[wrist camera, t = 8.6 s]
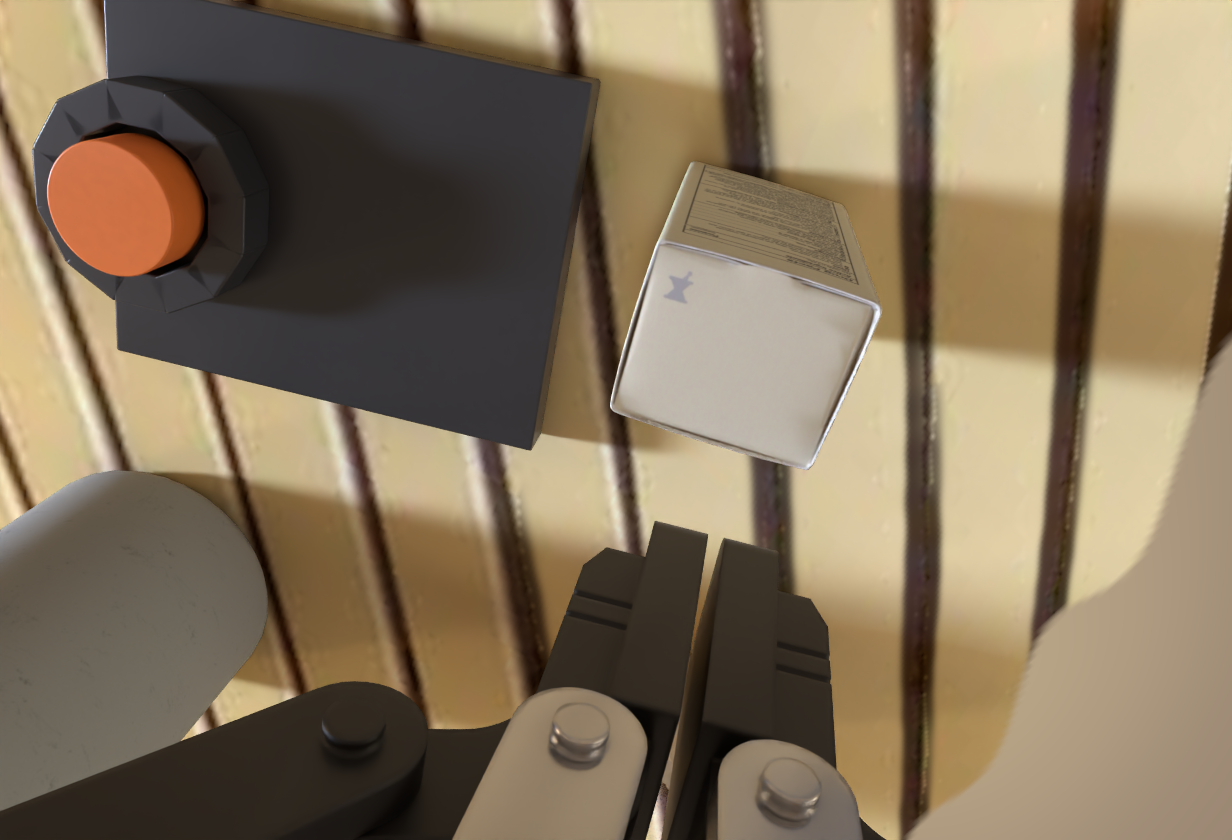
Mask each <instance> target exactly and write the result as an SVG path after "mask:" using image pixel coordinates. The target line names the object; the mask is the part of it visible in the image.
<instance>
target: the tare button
mask: <svg viewBox="0 0 1232 840" xmlns="http://www.w3.org/2000/svg"><path fill="white" fill-rule="evenodd" d="M47 198H48V205H49V209H50V213H51V216H52V219H53V222H54V224H55V226H56V228H57V230H58V232H59V234H60V235H61V237H62V238H63V240H64V241H65V242H66V244H67V245H68V246H69V247H70V249H71V250H72V251H73V252H74V253H75V254H76V255H77V256H78V257H80V258H81V259H82V260H83V261H85V262H86V263H87V264H89V265H91V266H92V267H94V268H96V269H98V270H100V271H102V272H105V273H108V274H111V275H116V276H123V277H132V276H139V275H142V274H145V273H148V272H150V271H152V270H155V269H157V268H160V267H162V266H164V265H167V264H169V263H171V262H174V261H176V260H178V259H180V258H182V257H184V256H185V255H187V254H188V253H189V252H190V251H191V250H192V249H193V248H194V247H195V245H196V244H197V242H198V240H199V239H200V237H201V234H202V231H203V228H204V223H205V204H204V198H203V194H202V191H201V188H200V185H199V183H198V181H197V179H196V177H195V175H194V173H193V171H192V170H191V169H190V167H189V166H188V164H187V163H186V162H185V161H184V160H183V158H182V157H181V156H180V155H179V154H177V153H176V152H175V151H174V150H173V149H172V148H170V147H169V146H168V145H166V144H164V143H163V142H161V141H159V140H157V139H155V138H152V137H150V136H146V135H143V134H137V133H123V134H117V135H112V136H107V137H102V138H97V139H92V140H87V141H82V142H79V143H76V144H74V145H72V146H70V147H69V148H67V149H66V150H65V151H63V152H62V154H61V155H60V156H59V157H58V158H57V160H56V161H55V163H54V164H53V167H52V169H51V171H50V175H49V178H48V185H47Z"/></svg>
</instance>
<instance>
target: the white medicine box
mask: <svg viewBox="0 0 1232 840" xmlns="http://www.w3.org/2000/svg"><path fill="white" fill-rule="evenodd" d="M881 315H882V307H881V304H880V301H879V299H878V296H877V293H876V290H875V288H874V285H873V282H872V279H871V276H870V274H869V272H868V269H867V265H866V263H865V260H864V257H863V255H862V252H861V249H860V247H859V244H858V242H857V239H856V236H855V233H854V230H853V227H852V225H851V222H850V220H849V217H848V214H847V211H846V209H845V207H844V206H843V205H841V204H839V203H836V202H833V201H830V200H827V199H824V198H820V197H817V196H814V195H811V194H809V193H805V192H802V191H799V190H796V189H793V188H789V187H786V186H783V185H780V184H776V183H773V182H770V181H766V180H763V179H760V178H756V177H753V176H749V175H746V174H742V173H738V172H735V171H731V170H728V169H724V168H720V167H716V166H712V165H709V164H705V163H701V162H697V161H694V162H692V163H690V165H689V168H688V170H687V172H686V174H685V177H684V179H683V182H682V184H681V186H680V189H679V191H678V193H677V196H676V199H675V201H674V204H673V206H672V209H671V211H670V214H669V216H668V218H667V221H666V223H665V226H664V228H663V231H662V233H661V235H660V238H659V240H658V242H657V244H656V246H655V249H654V252H653V255H652V258H651V261H650V264H649V267H648V270H647V273H646V276H645V279H644V282H643V285H642V288H641V291H640V294H639V297H638V301H637V304H636V307H635V310H634V313H633V317H632V320H631V323H630V327H629V330H628V334H627V337H626V340H625V344H624V348H623V351H622V355H621V359H620V363H619V367H618V371H617V375H616V379H615V384H614V388H613V392H612V396H611V402H610V407H611V409H612V410H613V411H614V412H616V413H618V414H621V415H623V416H626V417H629V418H632V419H634V420H638V421H641V422H644V423H647V424H650V425H652V426H655V427H658V428H662V429H664V430H667V431H670V432H673V433H676V434H680V435H683V436H686V437H688V438H692V439H695V440H699V441H702V442H705V443H708V444H712V445H715V446H719V447H722V448H726V449H729V450H732V451H735V452H738V453H742V454H746V455H750V456H753V457H757V458H760V459H764V460H768V461H772V462H776V463H780V464H784V465H787V466H793V467H796V468H800V469H804V470H809V469H810V468H811V467H812V466H813V464H814V462H815V460H816V458H817V456H818V453H819V451H820V449H821V447H822V445H823V443H824V441H825V439H826V436H827V434H828V432H829V430H830V429H831V427H832V425H833V422H834V420H835V418H836V416H837V414H838V411H839V409H840V407H841V405H842V403H843V401H844V399H845V397H846V395H847V393H848V391H849V388H850V386H851V384H852V381H853V379H854V377H855V375H856V373H857V371H858V369H859V366H860V363H861V361H862V359H863V357H864V355H865V353H866V350H867V348H868V346H869V343H870V341H871V338H872V336H873V334H874V331H875V329H876V326H877V324H878V322H879V319H880V317H881Z"/></svg>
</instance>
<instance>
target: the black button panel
mask: <svg viewBox="0 0 1232 840" xmlns="http://www.w3.org/2000/svg"><path fill="white" fill-rule="evenodd" d="M104 14H105V40H106V67H107V79H103V80H101V81H99V82H96V83H94V84H92V85H89V86H87V87H85V88H83V89H80V90H78V91H76V92H73V93H71V94H69V95H66V96H64V97H62V98H59V99H58V100H57V102H56V103H55V105H54V107H53V109H52V110H51V112H50V114H49V116H48V118H47V120H46V122H45V124H44V126H43V128H42V130H41V131H40V133H39V135H38V137H37V139H36V141H35V143H34V145H33V149H32V155H33V169H34V183H35V197H36V205H37V206H38V207H37V210H38V212H39V214H40V215H41V217H42V219H43V221H44V223H45V225H46V226H47V228H48V230H49V232H50V234H51V236H52V237H53V239H54V241H55V243H56V245H57V247H58V248H59V250H60V252H61V254H62V256H63V257H64V259H65V261H66V262H67V263H68V264H69V265H70V266H72V267H73V268H74V269H75V270H76V271H78V272H79V273H80V274H81V275H83V276H84V277H85V278H86V279H88V280H89V281H90V282H91V283H93V284H94V285H95V286H96V287H98V288H99V289H100V290H101V291H103V292H104V293H105V294H106V295H108V296H109V297H110V298H111V299H113V300H115V302H116V328H117V349H118V350H120V351H125V352H129V353H133V354H137V355H141V356H145V357H149V358H153V359H157V360H161V361H165V362H170V363H174V364H178V365H182V366H186V367H190V368H194V369H198V370H202V371H206V372H210V373H215V374H219V375H223V376H227V377H231V378H235V379H239V380H243V381H247V382H251V383H256V384H260V385H264V386H268V387H272V388H276V389H280V390H284V391H288V392H292V393H296V394H301V395H305V396H309V397H313V398H317V399H321V400H325V401H329V402H333V403H337V404H341V405H346V406H350V407H354V408H358V409H362V410H366V411H370V412H374V413H378V414H382V415H386V416H391V417H395V418H399V419H403V420H407V421H411V422H415V423H419V424H423V425H427V426H431V427H436V428H440V429H444V430H448V431H452V432H456V433H460V434H464V435H468V436H472V437H476V438H481V439H485V440H489V441H493V442H497V443H501V444H505V445H509V446H513V447H517V448H521V449H526V450H532V448H533V446H534V445H535V443H536V441H537V439H538V438H539V436H540V434H541V429H542V423H543V417H544V411H545V405H546V399H547V393H548V388H549V382H550V376H551V370H552V364H553V358H554V352H555V346H556V341H557V335H558V329H559V323H560V317H561V311H562V305H563V299H564V294H565V288H566V282H567V276H568V270H569V264H570V258H571V252H572V247H573V241H574V235H575V229H576V223H577V217H578V211H579V205H580V199H581V194H582V188H583V182H584V176H585V170H586V164H587V158H588V152H589V147H590V141H591V135H592V129H593V123H594V117H595V111H596V105H597V100H598V94H599V88H600V80H599V79H595V78H590V77H585V76H581V75H576V74H571V73H567V72H562V71H557V70H553V69H548V68H543V67H539V66H534V65H529V64H525V63H520V62H516V61H511V60H506V59H502V58H497V57H492V56H488V55H483V54H478V53H474V52H469V51H464V50H460V49H455V48H450V47H446V46H441V45H436V44H432V43H427V42H422V41H418V40H413V39H409V38H404V37H399V36H395V35H390V34H385V33H381V32H376V31H371V30H367V29H362V28H357V27H353V26H348V25H343V24H339V23H334V22H329V21H325V20H320V19H315V18H311V17H306V16H302V15H297V14H292V13H288V12H283V11H278V10H274V9H269V8H264V7H260V6H255V5H250V4H246V3H241V2H236V1H232V0H104ZM123 133H137V134H143V135H146V136H150V137H152V138H155V139H157V140H159V141H161V142H163V143H164V144H166V145H168V146H169V147H170V148H172V149H173V150H174V151H175V152H176V153H177V154H179V155H180V156H181V157H182V158H183V160H184V161H185V162H186V163H187V164H188V166H189V167H190V169H191V170H192V171H193V173H194V175H195V177H196V179H197V181H198V183H199V185H200V188H201V191H202V194H203V198H204V204H205V223H204V228H203V231H202V234H201V237H200V239H199V240H198V242H197V244H196V245H195V247H194V248H193V249H192V250H191V251H190V252H189V253H188V254H187V255H185V256H184V257H182V258H180V259H178V260H176V261H174V262H171V263H169V264H167V265H164V266H162V267H160V268H157V269H155V270H152V271H150V272H148V273H145V274H142V275H139V276H132V277H123V276H116V275H111V274H108V273H105V272H102V271H100V270H98V269H96V268H94V267H92V266H91V265H89V264H87V263H86V262H85V261H83V260H82V259H81V258H80V257H78V256H77V255H76V254H75V253H74V252H73V251H72V250H71V249H70V247H69V246H68V245H67V244H66V242H65V241H64V240H63V238H62V237H61V235H60V234H59V232H58V230H57V228H56V226H55V224H54V222H53V219H52V216H51V213H50V209H49V205H48V198H47V185H48V178H49V175H50V171H51V169H52V167H53V164H54V163H55V161H56V160H57V158H58V157H59V156H60V155H61V154H62V152H63V151H65V150H66V149H67V148H69V147H70V146H72V145H74V144H76V143H79V142H82V141H87V140H92V139H97V138H102V137H107V136H112V135H117V134H123Z"/></svg>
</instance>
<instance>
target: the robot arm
mask: <svg viewBox="0 0 1232 840" xmlns="http://www.w3.org/2000/svg"><path fill="white" fill-rule="evenodd" d="M707 540H708V534H705V533H701V532H697V531H693V530H689V529H685V528H681V527H677V526H674V525H670V524H666V523H662V522H658V521H655V522H654V526H653V530H652V534H651V538H650V541H649V545H648V549H647V553H646V557H642V556H638V555H634V554H631V553H627V552H623V551H619V550H615V549H611V548H605V549H604V550H603V551H601V552H600V553H599V554H597V555H596V556H595V557H593V558H592V559H591V560H589V561H588V562H587V563H585V564H584V565H583V567H582V570H581V573H580V575H579V578H578V581H577V584H576V586H575V589H574V593H573V594H572V597H571V600H570V602H569V605H568V608H567V611H566V615H565V616H564V619H563V621H562V624H561V627H560V630H559V632H558V635H557V638H556V640H555V643H554V646H553V649H552V651H551V654H550V657H549V659H548V662H547V665H546V668H545V670H544V673H543V676H542V678H541V681H540V684H539V687H538V689H537V692H536V694H535V695H533V696H531V697H530V698H528V699H527V700H525V701H524V702H523V703H522V704H521V705H520V706H519V707H518V708H517V710H516V711H515V713H514V714H513V716H512V718H510V719H508V720H506V721H504V722H501V723H499V724H495V725H492V726H489V727H483V728H477V729H428V727H427V721H426V719H425V717H424V715H423V713H422V711H421V710H420V709H419V707H418V706H417V705H416V704H415V703H414V702H413V701H412V700H411V699H410V698H409V697H407V696H406V695H404V694H402V693H401V692H399V691H397V690H395V689H392V688H390V687H387V686H384V685H380V684H376V683H370V682H356V681H353V682H341V683H336V684H330V685H327V686H324V687H321V688H317V689H315V690H312V691H310V692H307V693H305V694H302V695H299V696H297V697H294V698H292V699H289V700H286V701H284V702H281V703H279V704H276V705H273V706H271V707H268V708H266V709H263V710H261V711H258V712H255V713H253V714H250V715H248V716H245V717H242V718H240V719H237V720H235V721H232V722H229V723H227V724H224V725H222V726H219V727H217V728H214V729H211V730H209V731H206V732H204V733H201V734H198V735H196V736H193V737H191V738H188V739H185V740H183V741H180V742H178V743H175V744H173V745H170V746H167V747H165V748H162V749H160V750H157V751H154V752H152V753H149V754H147V755H144V756H141V757H139V758H136V759H134V760H131V761H129V762H126V763H123V764H121V765H118V766H116V767H113V768H110V769H108V770H105V771H103V772H100V773H97V774H95V775H92V776H90V777H87V778H85V779H82V780H79V781H77V782H74V783H72V784H69V785H66V786H64V787H61V788H59V789H56V790H53V791H51V792H48V793H46V794H43V795H41V796H38V797H35V798H33V799H30V800H28V801H25V802H22V803H20V804H17V805H15V806H12V807H9V808H7V809H4V810H2V811H0V840H646V836H647V833H648V829H649V825H650V822H651V818H652V815H653V811H654V808H655V804H656V800H657V797H658V793H659V790H660V786H661V783H662V779H663V775H664V772H665V768H666V765H667V761H668V758H669V754H670V750H671V747H672V743H673V740H674V736H675V733H676V729H677V725H678V722H679V718H680V722H679V728H678V734H677V741H676V747H675V754H674V760H673V767H672V773H671V780H670V786H669V793H668V799H667V806H666V812H665V819H664V825H663V832H662V838H661V840H886V839H884V838H883V837H882V836H880V835H879V834H878V833H876V832H875V831H874V830H873V829H871V828H870V827H869V826H868V825H867V824H866V823H865V822H864V821H863V820H862V819H861V818H860V817H859V811H858V806H857V802H856V798H855V796H854V794H853V792H852V790H851V788H850V786H849V785H848V783H847V782H846V780H845V779H844V778H843V777H842V775H841V774H840V773H839V772H838V771H837V769H836V753H835V736H834V719H833V702H832V686H831V684H830V680H831V669H830V660H829V656H830V652H829V636H828V626H827V625H826V623H825V622H824V620H823V618H822V617H821V615H820V614H819V612H818V610H817V609H816V607H815V606H814V604H813V602H812V601H811V599H809V598H805V597H801V596H797V595H793V594H789V593H785V592H781V591H778V568H779V554H778V551H774V550H770V549H766V548H762V547H758V546H754V545H750V544H746V543H742V542H738V541H734V540H730V539H726V538H724V539H723V541H722V543H721V546H720V550H719V553H718V557H717V560H716V564H715V567H714V571H713V575H712V578H711V582H710V586H709V589H708V593H707V596H706V600H705V604H704V607H703V611H702V615H701V618H700V622H699V625H698V629H697V633H696V636H695V640H694V644H693V649H692V653H691V657H690V662H689V656H690V650H691V643H692V637H693V630H694V624H695V617H696V611H697V604H698V598H699V591H700V585H701V579H702V572H703V566H704V559H705V553H706V546H707ZM688 662H689V667H688ZM687 669H688V672H687ZM686 675H687V677H686ZM685 682H686V683H685ZM684 688H685V689H684ZM683 695H684V696H683ZM682 701H683V702H682ZM681 708H682V709H681ZM680 714H681V715H680Z"/></svg>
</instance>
